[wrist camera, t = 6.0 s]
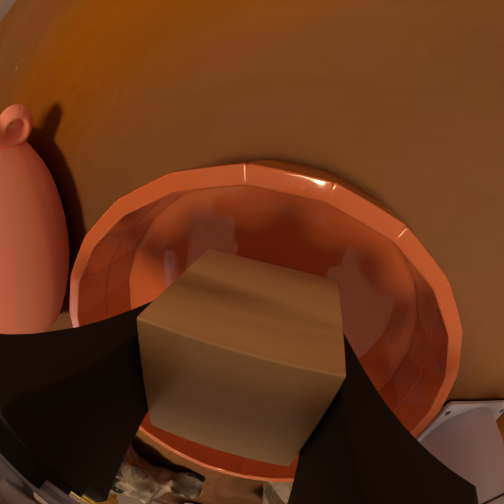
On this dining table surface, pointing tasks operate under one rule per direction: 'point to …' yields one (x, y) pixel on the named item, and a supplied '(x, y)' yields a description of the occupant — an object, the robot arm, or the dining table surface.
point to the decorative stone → (152, 480)
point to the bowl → (289, 256)
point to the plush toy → (276, 492)
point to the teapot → (29, 232)
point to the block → (243, 356)
